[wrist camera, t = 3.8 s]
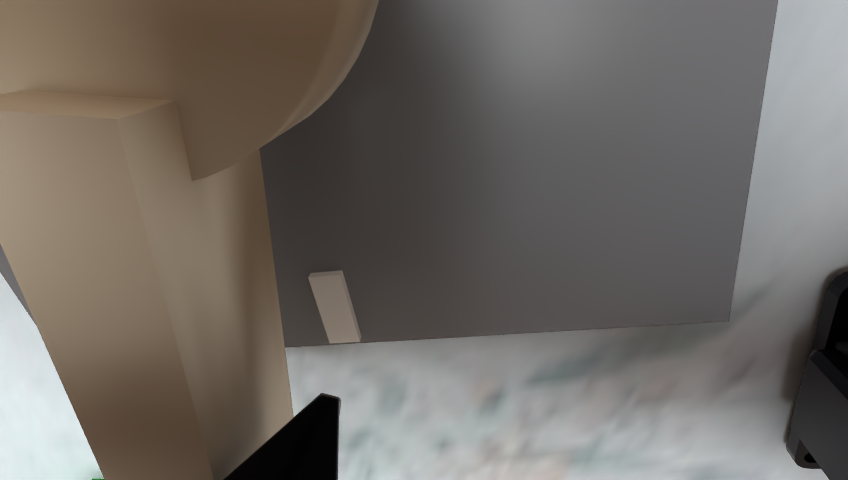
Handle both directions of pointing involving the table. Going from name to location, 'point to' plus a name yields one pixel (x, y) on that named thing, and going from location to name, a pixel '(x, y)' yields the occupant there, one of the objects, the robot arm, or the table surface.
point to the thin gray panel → (520, 171)
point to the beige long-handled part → (160, 210)
